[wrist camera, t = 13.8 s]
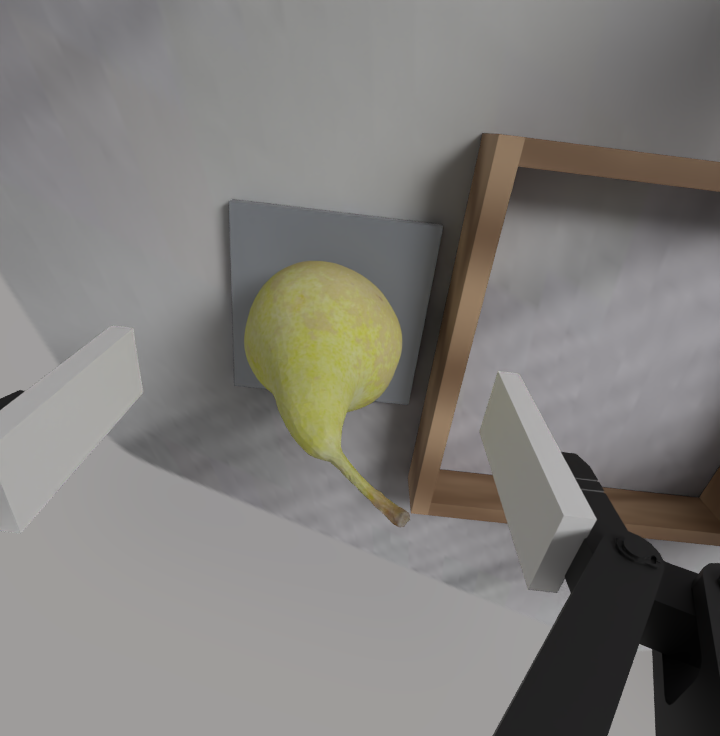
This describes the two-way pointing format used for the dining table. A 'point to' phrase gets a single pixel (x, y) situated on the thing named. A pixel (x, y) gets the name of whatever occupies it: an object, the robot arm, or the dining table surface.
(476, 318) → the walnut frame
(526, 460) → the robot arm
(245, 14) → the dining table surface
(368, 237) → the slate coaster
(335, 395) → the fruit
